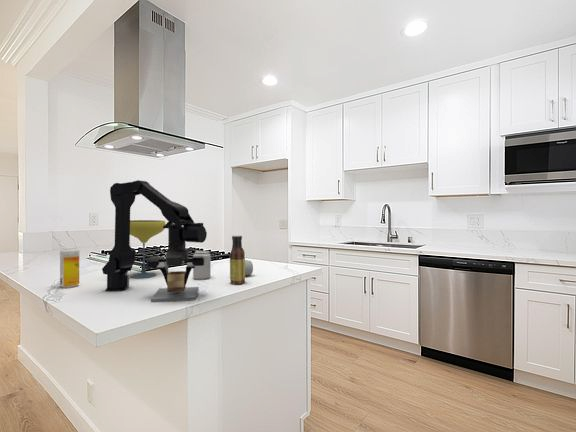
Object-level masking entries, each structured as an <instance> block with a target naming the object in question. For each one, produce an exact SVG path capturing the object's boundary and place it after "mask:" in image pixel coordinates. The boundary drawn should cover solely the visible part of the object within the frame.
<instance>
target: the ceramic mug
mask: <svg viewBox="0 0 576 432" xmlns="http://www.w3.org/2000/svg"><path fill="white" fill-rule="evenodd" d="M253 273H254V266H253V262H252V261H251V260H249V259H248V260H247V259H245V277H248V276H251V275H252V274H253Z"/></svg>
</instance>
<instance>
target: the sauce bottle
mask: <svg viewBox="0 0 576 432" xmlns="http://www.w3.org/2000/svg"><path fill="white" fill-rule="evenodd" d="M231 239H232V246H231V251H230V254H229V280H230V284H232V285H242V284H244V283H246V276H245V260H246V257H245V250H244V248H243V245H242V242H243V241H242V240H243V236H242V235H239V234H238V235H232V236H231Z"/></svg>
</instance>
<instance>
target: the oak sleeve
mask: <svg viewBox="0 0 576 432" xmlns="http://www.w3.org/2000/svg"><path fill="white" fill-rule="evenodd" d="M185 273H186V270H177V271H176V270H175V271H169V273H168V275H167V284H166V286H167V287H166V288H167V292H182V291H184V290H185V288H186V285H187V284H186V285H185V283H184V281H185Z"/></svg>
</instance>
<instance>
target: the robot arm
mask: <svg viewBox="0 0 576 432" xmlns="http://www.w3.org/2000/svg"><path fill="white" fill-rule="evenodd" d="M109 195H110V201H111V202H112V205H114V207H115V211H114V212H115V213H114V215H115V216H114V246H113V247H112V249H111V250H110V253H109V256H108V261H107V262H106V263H105V265H104V266H103V267H102V268H101V270H102V274H103V275H106V288H105V292H110V291H111V292H113V291H125V290H127V288H129V287H130V275H129V273H128V272H130V271H132V270H133V269H132V268H133V265H135V261H137V259H136V253H137V251H136V249H133V248H132V247H131V244H130V243H131V240H130V239H131V238H130V236H131V235H130V221H131V209H132V206H133V205H134V203H135V200H136V196H139V195H142V196H143V197H144V198H146V200H148V201H149V202H150V203H152V205H154V206H156V207H157V208H158V209H159V210H160V212H161V214H162V216H163V217H164V218H165V220H166V221H167V222H166V223H165V225H164V226H163V228H165V229H167V230H168V238H167V239H168V243H167V244H168V246H167V247H168V249H167V251H166V255H165V258H163V256H160V255H159V256H150V257H149V258H147V260H146V267H147V268H156V270H159V271H160V272H161V273H162V275H163V279H164V281H165V284H166V285H167V275H168V273H169V272H170V271H169V267H171V266H178V267H179V266H181V265H182V264H183V265H184V264H186V266H185V271H186V273H185V281H184V283H185V285H187V283H188V279H189V277H190V274H191V271H192V270H193V268H195V266H203V265H204V263H205V257H204V256H193V255H192V258H191V257H189V250H186V245H187V244H186V243H200V244H202V243H204V242H205V241H206V239H207V233H208V232H207V229H206V228H205V226H204V223H203V222H196V223H195V221H194V219H193V218H192V217H191V215H190V213H189V209H188V207H186V206H184V205H183V204H180V203H178V202H176V201H172V200H170V199H169V198H168V197H166V196H165V195H164V194H163V193H161V192H160V191H159V190H158V189H156V188H154V186H152V185H151V184H150V182H148V181H146V180H139V179H137V180H135V181H128V182H122V183H120V182H115V183H113V184H112V185H111V186H110V188H109Z"/></svg>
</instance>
